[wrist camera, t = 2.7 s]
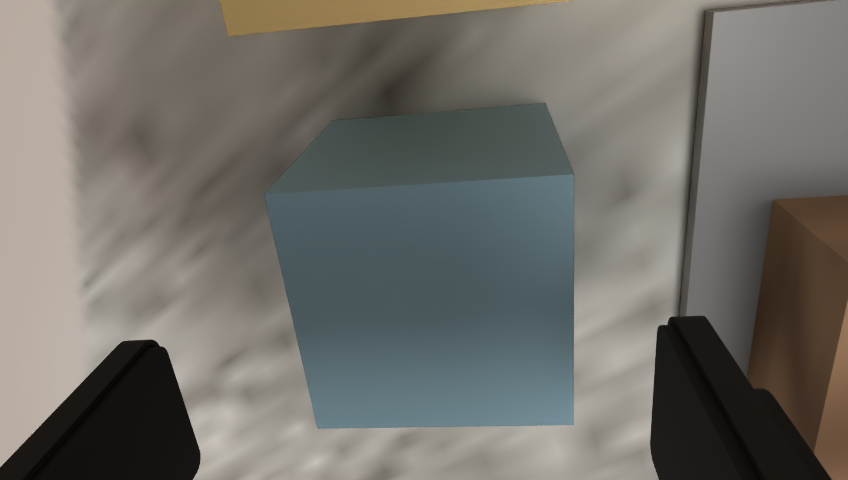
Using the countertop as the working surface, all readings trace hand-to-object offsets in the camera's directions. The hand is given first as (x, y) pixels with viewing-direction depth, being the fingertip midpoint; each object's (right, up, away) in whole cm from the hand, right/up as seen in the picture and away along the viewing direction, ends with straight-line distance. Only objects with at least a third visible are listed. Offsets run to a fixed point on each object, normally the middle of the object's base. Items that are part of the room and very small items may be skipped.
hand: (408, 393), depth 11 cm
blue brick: (+1, +4, +7) cm, 8 cm away
